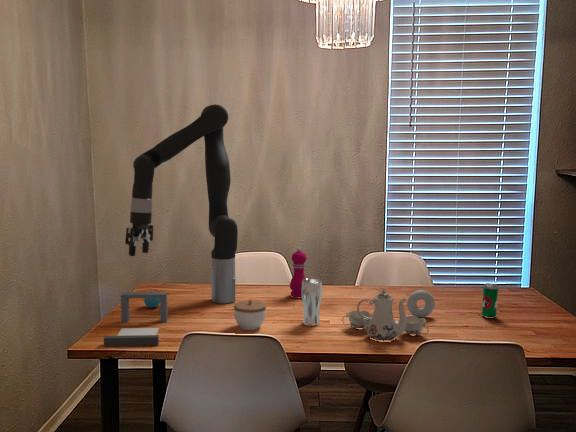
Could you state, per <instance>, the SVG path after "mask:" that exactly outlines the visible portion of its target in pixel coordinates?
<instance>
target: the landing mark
mask: <svg viewBox="0 0 576 432" xmlns="http://www.w3.org/2000/svg"><path fill="white" fill-rule="evenodd" d="M159 329H160V328H159V327H138V328H137V327H136V328H135V327H134V328H133V327H131V328H129V327H128V328H127V327H126V328H123V327H122V328H121V329H120V331H119V332H118V334H116V336H132V335H158V332H159Z"/></svg>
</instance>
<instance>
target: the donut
mask: <svg viewBox="0 0 576 432" xmlns="http://www.w3.org/2000/svg"><path fill="white" fill-rule="evenodd" d="M420 300H422V301H424V306H423V307H418V301H420ZM435 305H436V303H435V298H434V296H433V295H432V293H430V292H429V291H427V290H423V289H418V290H415V291H413V292H412V293H411V294H409V296H408V298H407V300H406V307H407V310H408V312H409V313H410V314H411V316H412V315H413V316H416V317H418V318H420V317H421V318H426V317H428V316H429V315H431V313H433V311H434V310H435ZM425 316H426V317H425Z"/></svg>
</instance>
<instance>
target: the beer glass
mask: <svg viewBox="0 0 576 432" xmlns="http://www.w3.org/2000/svg"><path fill="white" fill-rule="evenodd" d="M322 281H323V280H321V279H319V278H306V279H304V280H302V298H301V302H302V309H303V317H302V322H303V323H304V324H307V325H315V324H319V323H320V324H321V320H320V308H321V304H322V296H323V287H322V286H323V283H322ZM303 323H302V324H303ZM304 324H303V325H304ZM320 324H319V325H320Z"/></svg>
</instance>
